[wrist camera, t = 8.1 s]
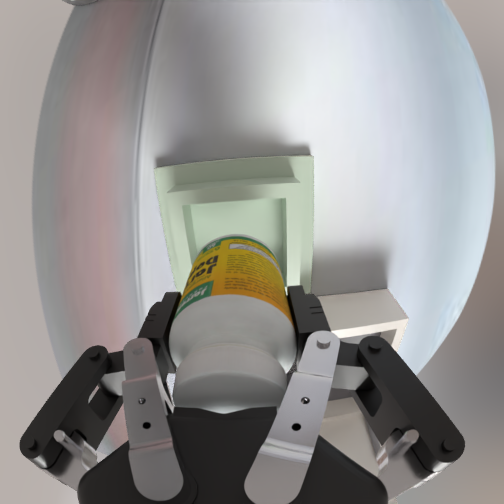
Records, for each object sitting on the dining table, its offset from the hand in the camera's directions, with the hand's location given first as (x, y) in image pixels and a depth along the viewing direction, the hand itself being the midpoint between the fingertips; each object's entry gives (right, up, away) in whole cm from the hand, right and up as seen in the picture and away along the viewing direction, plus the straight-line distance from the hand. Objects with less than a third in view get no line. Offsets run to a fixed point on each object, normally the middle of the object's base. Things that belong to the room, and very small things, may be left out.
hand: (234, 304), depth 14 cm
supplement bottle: (0, +2, +3) cm, 4 cm away
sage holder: (0, +4, +9) cm, 10 cm away
